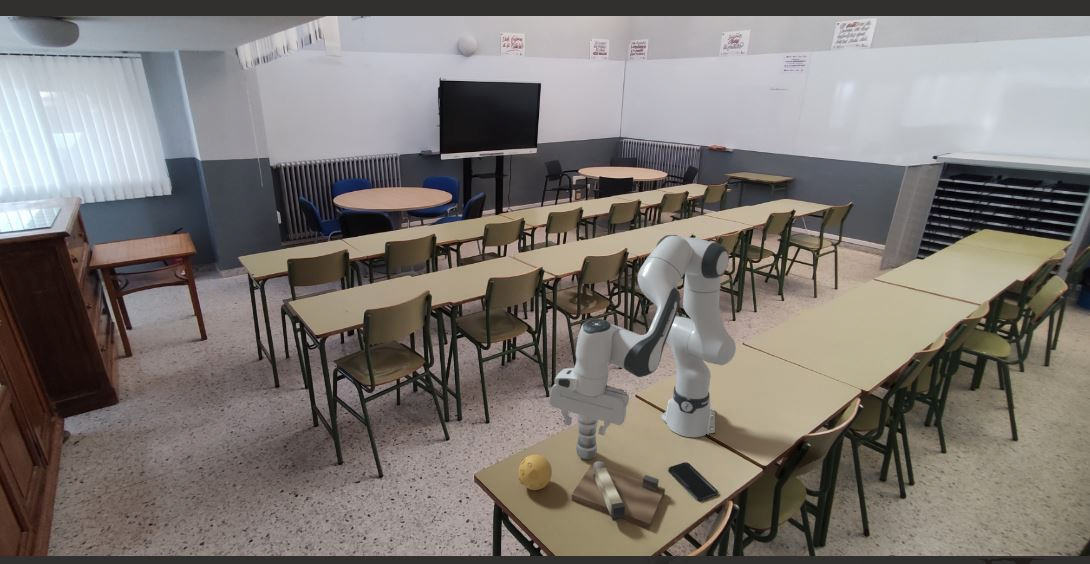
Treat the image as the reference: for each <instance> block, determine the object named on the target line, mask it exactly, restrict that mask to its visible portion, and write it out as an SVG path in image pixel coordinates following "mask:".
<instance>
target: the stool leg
mask: <svg viewBox="0 0 1090 564" xmlns="http://www.w3.org/2000/svg"><path fill="white" fill-rule="evenodd" d="M593 464H594V469H593V477H594V478H595V481H596V483H597V485H598V487H599V490H600V492H601V494H602V496H603V499H604V501H605V503H606V505H607V508H608V510H609V512H610V514H611V515H610V514H609V515H610V518H611V521H613V522H615V521H620V520H623V519H624V514H625V505H624V503H623V502H622V500H621V498H620V496H619V494H618V492H617V490H616V488H615V486H614V484H613V482H612V480H611V478H610V476H609V474H608V472H607V470H606V468H607V467H605V466H606V465H605V463H604V462H603V461H595V462H594V463H593Z"/></svg>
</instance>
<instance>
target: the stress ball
mask: <svg viewBox="0 0 1090 564" xmlns="http://www.w3.org/2000/svg"><path fill="white" fill-rule="evenodd" d="M550 463H551V462H549V460H548V459H547V458H546V457H545V456H543V455H541V454H535V453H534V454H529V455H528V456H526V457H523V458H522V460H521V461H520V463H519V467H518V472H517V473H518V480H519V482H520V484H521V485H523V486H524V487H525V488H527V489H528V490H530V491H531V490H532V491H539V490H541V489H543V488H546V486H548V484H549V483H550V481H551V479H552V475H553V474H552V473H553V472H552V466H551V464H550Z"/></svg>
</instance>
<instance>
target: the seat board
mask: <svg viewBox="0 0 1090 564" xmlns="http://www.w3.org/2000/svg"><path fill="white" fill-rule="evenodd" d="M605 468H606V470H607V472H608V474H609V476H610V478H611V480H612V482H613V484H614V486H615V488H616V490H617V492H618V494H619V496H620V498H621V500H622V502H623V503H624V505H625V514H624V519H622V520H623V521H626V522H629V523H631V524H633V525H636V526H639V527H641V528H644V529H647V530H651V527H652V524H653V522H654V519H655V517H656V515H657V513H658V511H659V508H660V505H661V504H662V501H663V499H664V497H665V494H666V488H665V487H662V486H659V479H658V478H656V477H653V476H650V475H647V474H645V475H644V477H643V478H642V479H643V480H641V479H638V478H635V477H633V476H630V475H626V474H624V473H621V472H618V471H616V470H612V469H609V468H607V467H605ZM593 469H594V463H591V464H590V466H589V467H588V469H587V470H586V471H585V473H584V475H583V477H582V478H581V479H580V481H579V482H578V483H577V486H576V487H575V488H574V490H573V491H572V493H571V499H570V500H571V501H573V502H575V503H579V504H581V505H583V506H587V507H589V508H591V507H592V509H594V510H597V511H600V512H602V513H605V514H607V515H610V516H611V514H610V512H609V510H608V508H607V505H606V503H605V501H604V499H603V496H602V494H601V492H600V490H599V487H598V485H597V483H596V481H595V478H594V477H593Z"/></svg>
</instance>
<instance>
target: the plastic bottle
mask: <svg viewBox="0 0 1090 564" xmlns="http://www.w3.org/2000/svg"><path fill="white" fill-rule="evenodd" d="M576 417H577V427H578V437H577V442H576V446H575V450H576V454H577V455H578V457H579V458H580V459H583V460H591V459H594V458H595V457H596V455H597V452H598V446H597V437H596V436H597V433H596V432H597V428H598V422H599V420H598V419H594V418H591V417H587V416H583V415H580V414H576Z"/></svg>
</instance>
